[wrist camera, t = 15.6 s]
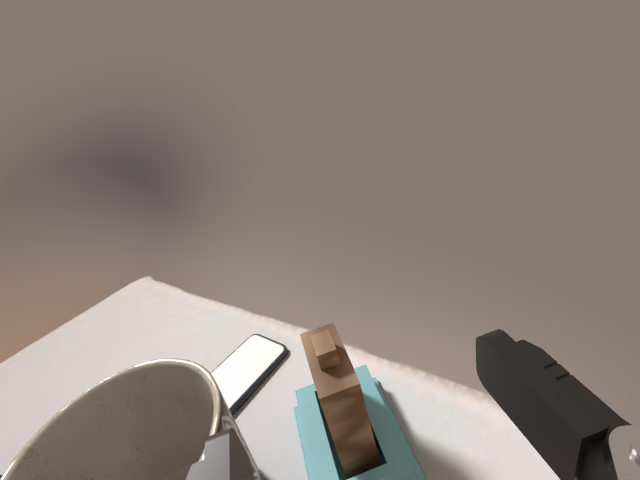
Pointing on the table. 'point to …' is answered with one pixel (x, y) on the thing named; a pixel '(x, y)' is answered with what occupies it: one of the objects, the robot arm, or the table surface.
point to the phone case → (247, 369)
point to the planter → (131, 427)
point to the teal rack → (393, 449)
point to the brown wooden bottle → (341, 400)
